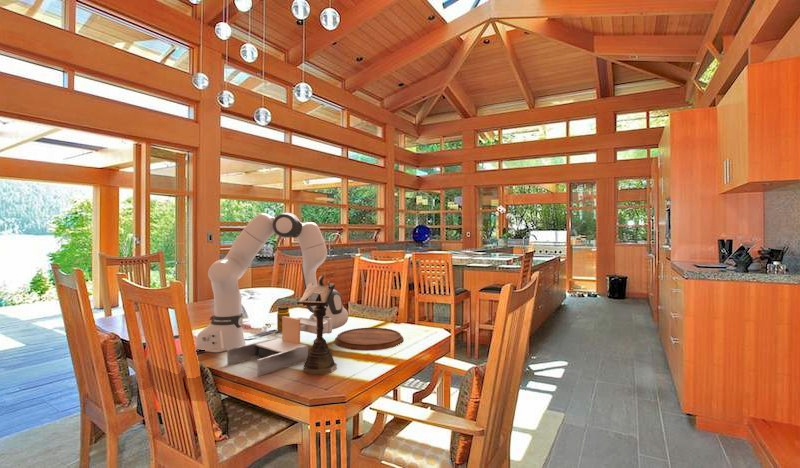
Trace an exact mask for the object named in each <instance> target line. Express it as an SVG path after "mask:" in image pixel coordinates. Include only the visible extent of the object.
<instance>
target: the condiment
mask: <svg viewBox="0 0 800 468" xmlns="http://www.w3.org/2000/svg"><path fill="white" fill-rule="evenodd" d="M276 314H277V318H276V321H277V322H276V324H277V327H276V329H278V331H275V332H277V333H282V317H283V316H287V317H290V314H291V313H290V310H289V306H286V305H283V306H278V308H277V313H276Z"/></svg>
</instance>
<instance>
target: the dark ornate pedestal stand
mask: <svg viewBox="0 0 800 468" xmlns="http://www.w3.org/2000/svg"><path fill="white" fill-rule="evenodd" d="M324 278H325V275H324V274H323V275H320V276H319V277H318V283H317V286H314V285H313V283H309V284H308V286H307V288H306V290H305V289H304V293H303V295H302V296H301V298H300V300H298V301H296V305H295V308H297V306H299V305H302V306H303V307H305V306H306V307H307V306H315V308H313V311H314V313H313V314H314V316H315V317H316V318H317V327H316V329H317V334H316V338H315V339H314V340H313V344H312V346H311V349H310V350H308V356H307V360H306V361H304V364H303V370H304V371H305V373H306V374H310V375H325V374H329V373H332V372H334V371H335V370H337V368H338V363H337V362H335V360H334V358H333V355H332V354H333V353H332V352H331V349H330V348H329V346H328V344H327V339H325V338H324V336H323V335H324V334H323V329H324V328H323V317H324V316H325V315H326V310H327V308H325V306H326V307H328V301H329V298H330V296H331V293H332V291H333V289H335V288H336V284H335V283H330V280H328V281H327V283H326V285H324V281H323V280H324ZM309 297H310V298H309ZM308 298H309V300H308V301H306V300H307V299H308Z"/></svg>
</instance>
